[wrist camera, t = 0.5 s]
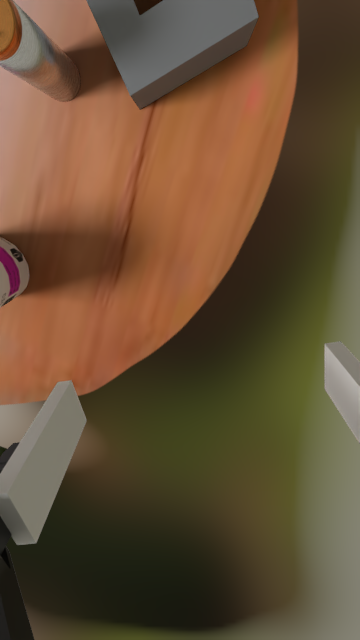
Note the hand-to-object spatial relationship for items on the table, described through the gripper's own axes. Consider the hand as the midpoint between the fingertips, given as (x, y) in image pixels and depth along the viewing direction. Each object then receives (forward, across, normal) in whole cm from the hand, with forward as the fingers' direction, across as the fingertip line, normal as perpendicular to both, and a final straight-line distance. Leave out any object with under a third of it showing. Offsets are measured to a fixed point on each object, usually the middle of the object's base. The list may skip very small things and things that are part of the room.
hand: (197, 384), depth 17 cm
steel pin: (+26, -10, +21) cm, 35 cm away
